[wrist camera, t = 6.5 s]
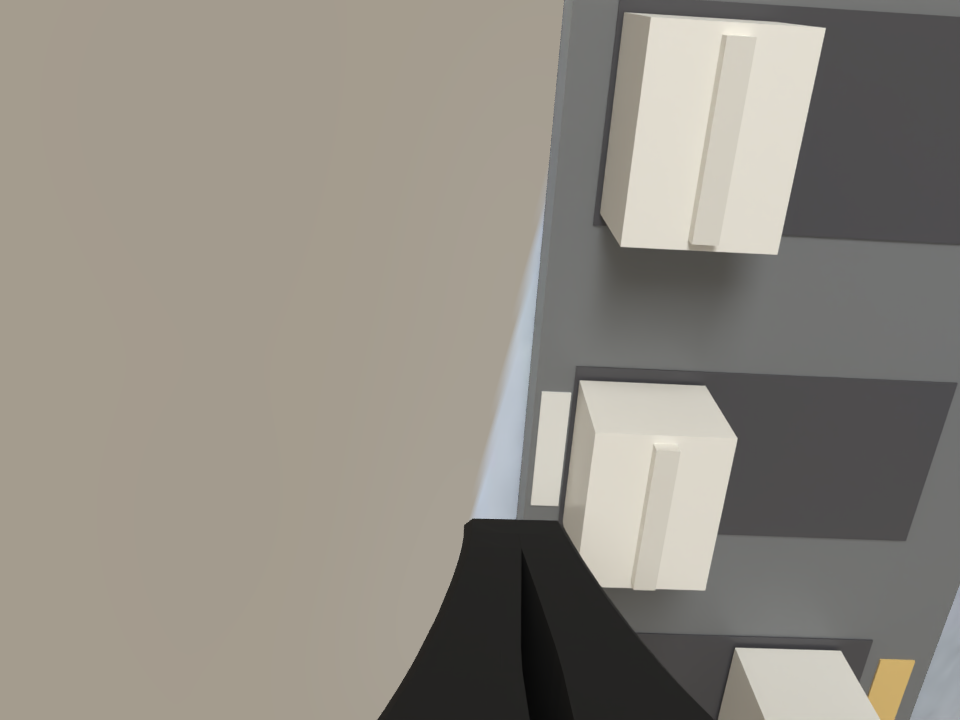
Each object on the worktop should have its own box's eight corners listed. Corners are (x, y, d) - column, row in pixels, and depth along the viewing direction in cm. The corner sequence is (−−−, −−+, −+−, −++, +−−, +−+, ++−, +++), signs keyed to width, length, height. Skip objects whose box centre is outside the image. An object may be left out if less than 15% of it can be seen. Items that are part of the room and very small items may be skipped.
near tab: (737, 220, 18) (783, 259, 15) (599, 213, 18) (623, 251, 15) (774, 21, 16) (832, 28, 14) (624, 12, 16) (654, 17, 14)
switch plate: (867, 734, 27) (889, 776, 25) (497, 725, 26) (499, 767, 25) (1124, -9, 18) (1181, -8, 16) (568, -46, 17) (578, -49, 16)
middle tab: (678, 525, 21) (708, 599, 19) (562, 521, 21) (576, 595, 19) (705, 385, 20) (742, 445, 17) (579, 380, 20) (597, 439, 17)
